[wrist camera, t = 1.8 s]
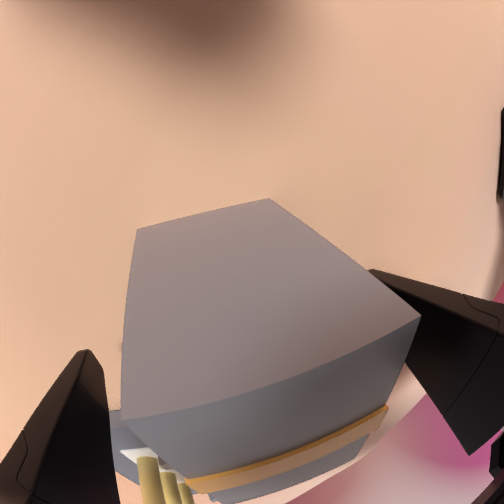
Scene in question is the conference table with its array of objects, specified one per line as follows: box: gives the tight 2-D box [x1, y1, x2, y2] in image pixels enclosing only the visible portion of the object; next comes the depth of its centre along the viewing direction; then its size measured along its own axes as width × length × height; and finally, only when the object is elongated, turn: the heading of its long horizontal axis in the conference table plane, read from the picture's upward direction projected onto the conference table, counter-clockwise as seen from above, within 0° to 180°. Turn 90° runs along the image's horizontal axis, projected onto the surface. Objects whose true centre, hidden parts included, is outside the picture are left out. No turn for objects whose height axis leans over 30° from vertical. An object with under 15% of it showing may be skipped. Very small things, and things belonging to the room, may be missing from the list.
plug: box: [121, 198, 421, 504], centre depth 7 cm, size 4×6×6 cm
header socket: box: [109, 410, 217, 504], centre depth 12 cm, size 17×14×6 cm
